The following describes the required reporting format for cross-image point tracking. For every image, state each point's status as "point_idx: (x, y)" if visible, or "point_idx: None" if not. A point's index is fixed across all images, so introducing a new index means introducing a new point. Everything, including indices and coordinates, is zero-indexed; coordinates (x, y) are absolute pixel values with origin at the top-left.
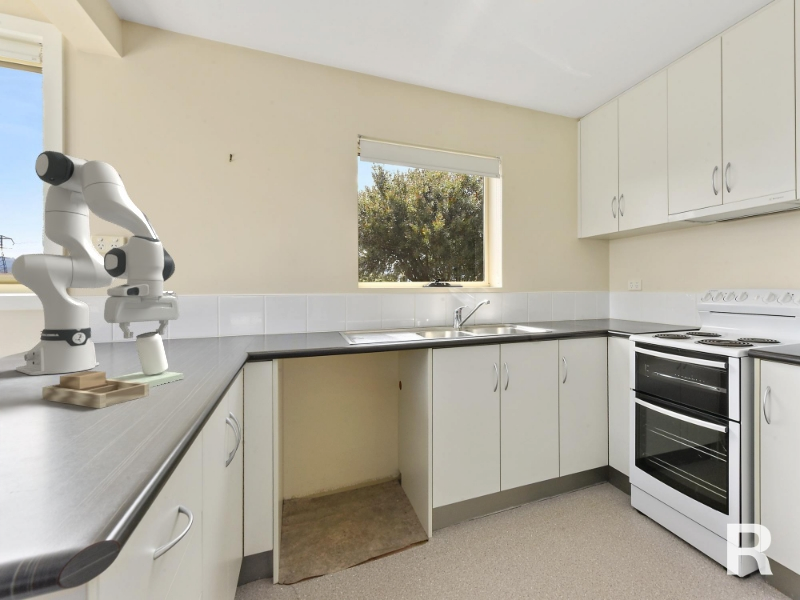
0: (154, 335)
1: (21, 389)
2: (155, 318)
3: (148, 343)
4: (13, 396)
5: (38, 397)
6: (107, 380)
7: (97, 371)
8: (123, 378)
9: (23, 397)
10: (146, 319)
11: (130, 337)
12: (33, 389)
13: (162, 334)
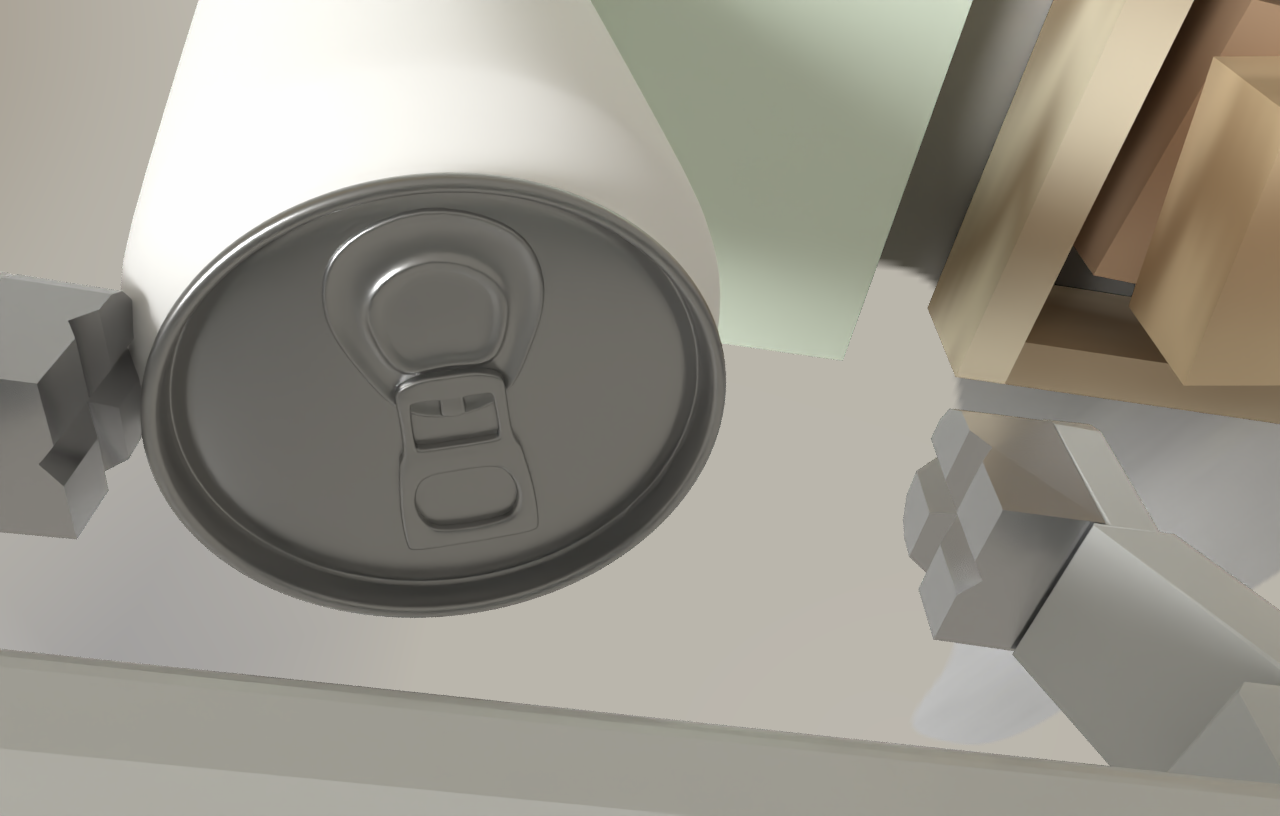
0: (453, 178)
1: (978, 706)
2: (122, 748)
3: (645, 127)
4: None
5: (1253, 444)
6: (1142, 102)
7: (1250, 239)
8: (771, 185)
9: (1231, 530)
10: (682, 785)
11: (1024, 419)
12: (978, 654)
13: (21, 275)
